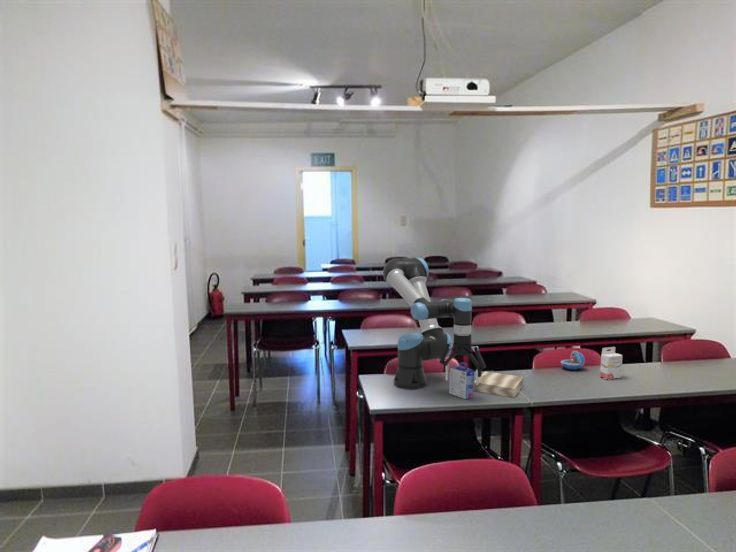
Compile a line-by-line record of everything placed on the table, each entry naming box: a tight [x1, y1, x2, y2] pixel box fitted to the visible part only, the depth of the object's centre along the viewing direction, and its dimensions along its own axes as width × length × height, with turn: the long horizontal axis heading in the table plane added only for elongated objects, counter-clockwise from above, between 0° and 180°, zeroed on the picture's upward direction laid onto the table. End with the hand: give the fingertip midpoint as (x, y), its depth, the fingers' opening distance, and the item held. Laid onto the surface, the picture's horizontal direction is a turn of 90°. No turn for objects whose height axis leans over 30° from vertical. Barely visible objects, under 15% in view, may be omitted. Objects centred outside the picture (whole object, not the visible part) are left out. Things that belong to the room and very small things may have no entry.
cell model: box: [560, 350, 586, 371], centre depth 250 cm, size 10×12×10 cm
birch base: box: [474, 371, 524, 398], centre depth 223 cm, size 18×18×4 cm
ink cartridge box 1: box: [448, 361, 475, 400], centre depth 214 cm, size 10×6×14 cm, turn 38°
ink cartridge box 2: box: [599, 346, 623, 380], centre depth 236 cm, size 9×5×15 cm, turn 108°
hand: (462, 381), depth 214 cm, fingers open, 13 cm apart
